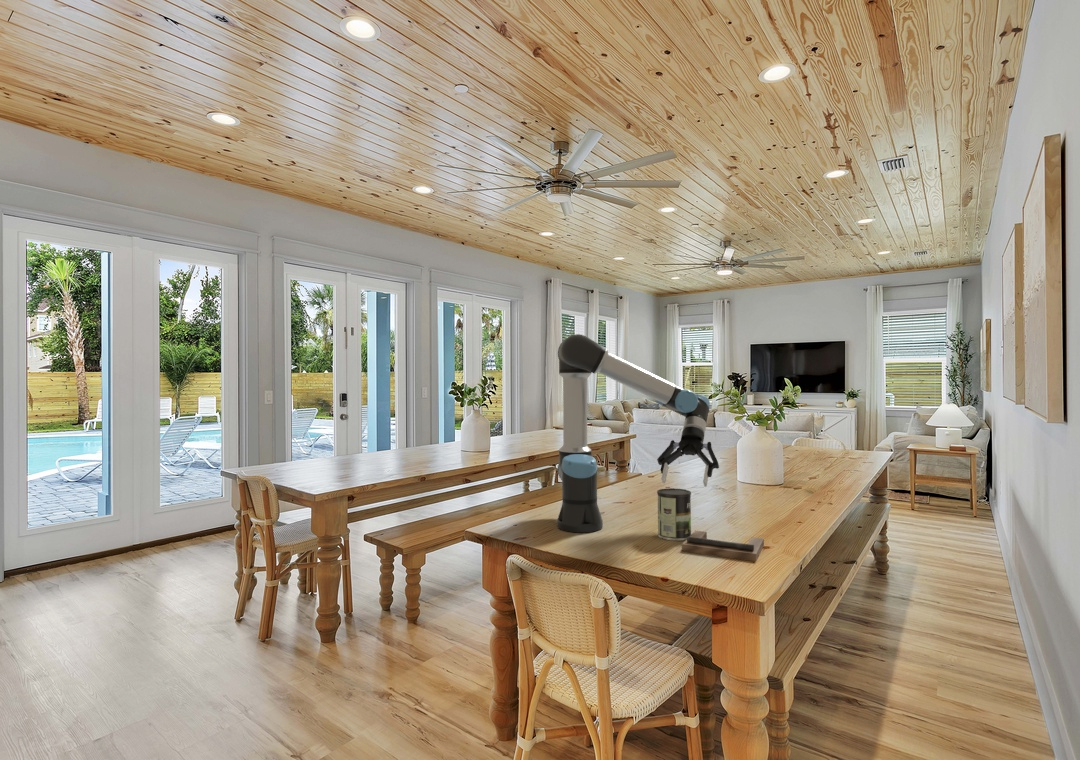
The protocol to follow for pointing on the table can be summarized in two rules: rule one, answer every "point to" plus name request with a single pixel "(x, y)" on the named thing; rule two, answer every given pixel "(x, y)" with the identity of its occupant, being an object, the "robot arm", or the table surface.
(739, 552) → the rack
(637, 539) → the table surface
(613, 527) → the table surface
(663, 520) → the coffee can
